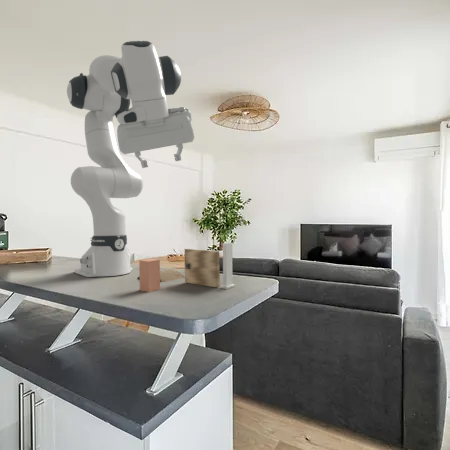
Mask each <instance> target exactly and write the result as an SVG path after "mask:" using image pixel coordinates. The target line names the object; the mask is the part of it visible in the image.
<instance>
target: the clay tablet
mask: <svg viewBox="0 0 450 450" xmlns="http://www.w3.org/2000/svg"><path fill="white" fill-rule="evenodd" d="M137 278H138V279H140V275H139V276H138V277H137ZM180 279H185V275H184V274H182V273H181V272H179V271H178V270H173V269H164V270H160V282H161V283H166V282H167V283H168V282H171V281H176V280H180Z"/></svg>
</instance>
